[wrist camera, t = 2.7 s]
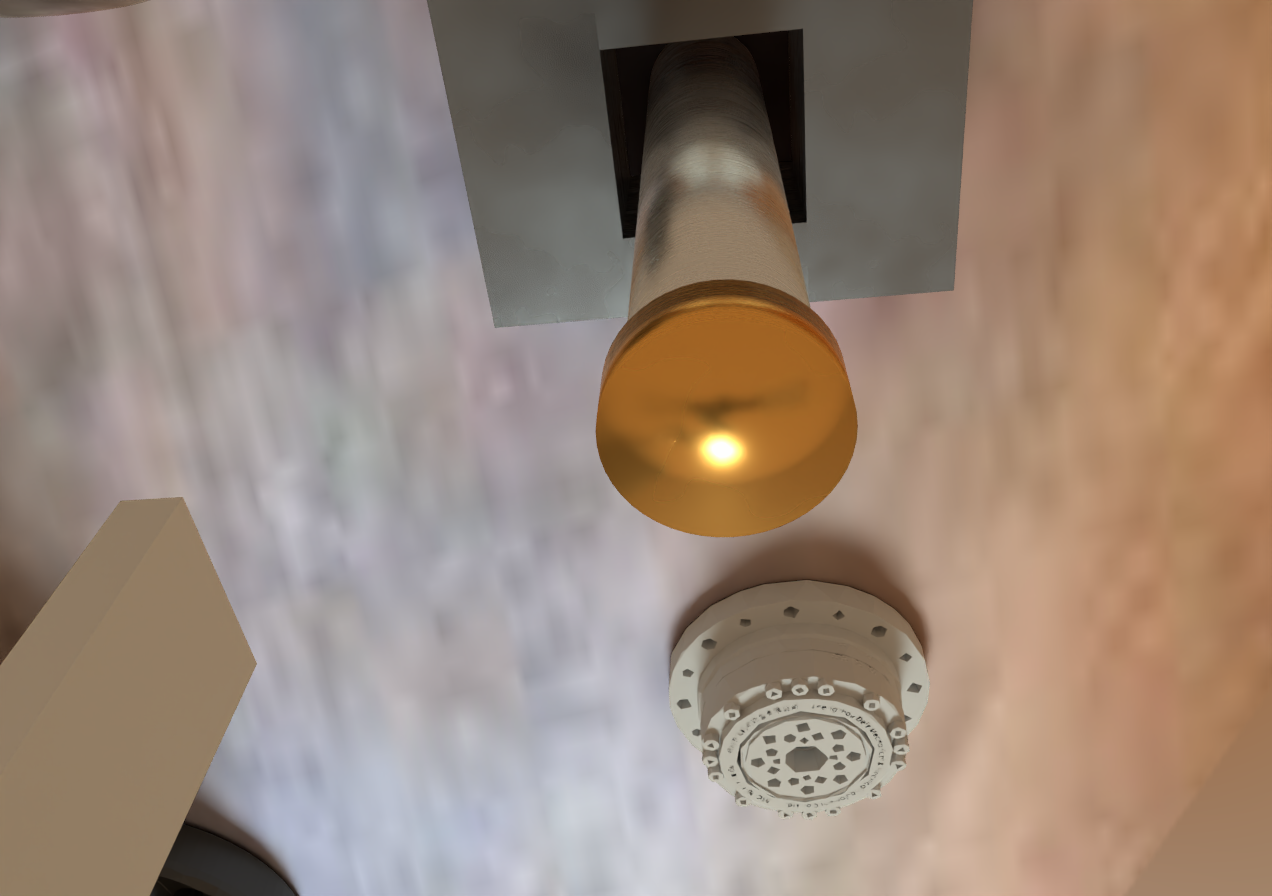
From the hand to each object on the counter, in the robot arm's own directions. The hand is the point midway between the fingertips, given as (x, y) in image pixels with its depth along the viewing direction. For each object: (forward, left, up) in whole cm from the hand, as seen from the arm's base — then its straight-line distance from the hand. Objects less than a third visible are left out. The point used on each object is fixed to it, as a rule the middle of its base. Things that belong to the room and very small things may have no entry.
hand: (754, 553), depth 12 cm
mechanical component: (+2, -23, -20) cm, 31 cm away
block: (0, 0, -20) cm, 20 cm away
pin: (0, 0, -20) cm, 20 cm away
